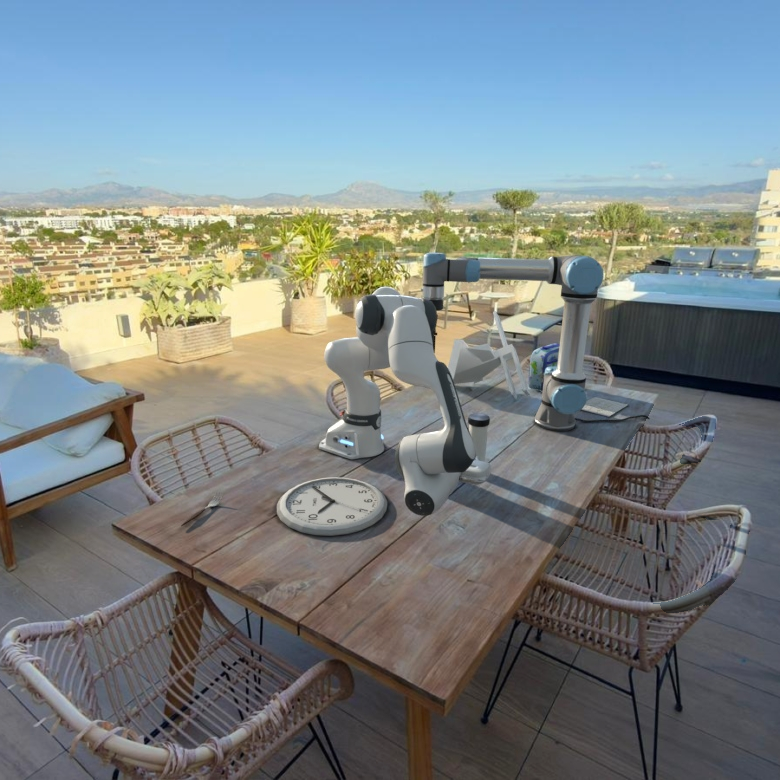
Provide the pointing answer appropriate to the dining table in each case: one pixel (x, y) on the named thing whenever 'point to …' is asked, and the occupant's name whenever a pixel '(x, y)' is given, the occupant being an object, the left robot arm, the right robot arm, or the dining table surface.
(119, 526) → the dining table surface
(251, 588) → the dining table surface
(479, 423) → the lid
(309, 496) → the wall clock
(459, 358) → the white plastic object
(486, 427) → the white cylindrical tube
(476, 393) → the dining table surface
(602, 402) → the invitation card
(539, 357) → the lunch box
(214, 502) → the fork
